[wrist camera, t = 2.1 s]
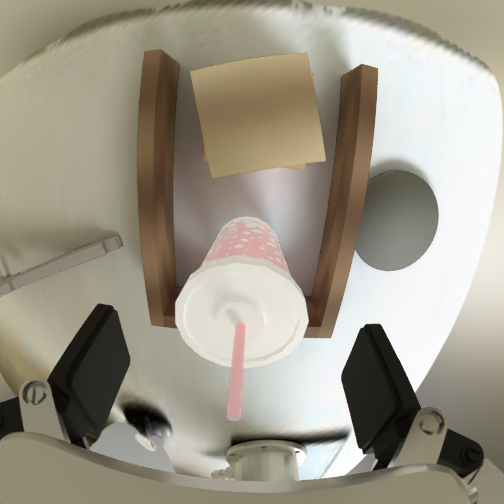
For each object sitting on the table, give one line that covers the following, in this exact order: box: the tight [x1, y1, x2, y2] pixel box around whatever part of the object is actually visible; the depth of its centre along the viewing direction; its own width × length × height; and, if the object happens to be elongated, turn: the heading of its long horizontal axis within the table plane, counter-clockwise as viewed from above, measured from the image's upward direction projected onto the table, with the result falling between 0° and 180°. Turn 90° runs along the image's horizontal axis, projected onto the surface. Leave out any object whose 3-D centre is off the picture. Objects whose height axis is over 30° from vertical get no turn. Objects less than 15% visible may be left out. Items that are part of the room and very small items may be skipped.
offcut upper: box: [190, 53, 326, 179], centre depth 13 cm, size 6×6×3 cm
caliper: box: [0, 235, 123, 297], centre depth 19 cm, size 20×1×6 cm, turn 104°
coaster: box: [355, 170, 439, 271], centre depth 19 cm, size 8×8×1 cm
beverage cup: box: [175, 216, 309, 422], centre depth 14 cm, size 6×6×14 cm
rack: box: [137, 49, 378, 338], centre depth 17 cm, size 18×13×4 cm
